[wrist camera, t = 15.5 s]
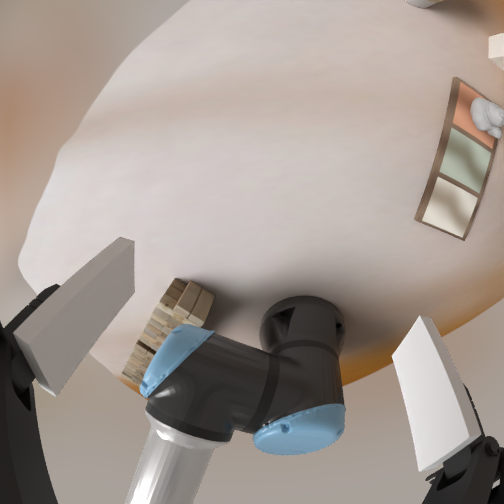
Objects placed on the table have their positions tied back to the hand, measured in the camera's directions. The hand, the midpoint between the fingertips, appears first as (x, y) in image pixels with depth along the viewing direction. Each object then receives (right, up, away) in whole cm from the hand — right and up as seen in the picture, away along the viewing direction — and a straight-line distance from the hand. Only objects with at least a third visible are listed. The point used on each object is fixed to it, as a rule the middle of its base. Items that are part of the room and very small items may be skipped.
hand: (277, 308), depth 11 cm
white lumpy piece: (+33, +23, +15) cm, 43 cm away
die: (+40, +35, +9) cm, 54 cm away
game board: (+31, +16, +19) cm, 40 cm away
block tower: (-18, -13, +42) cm, 48 cm away
